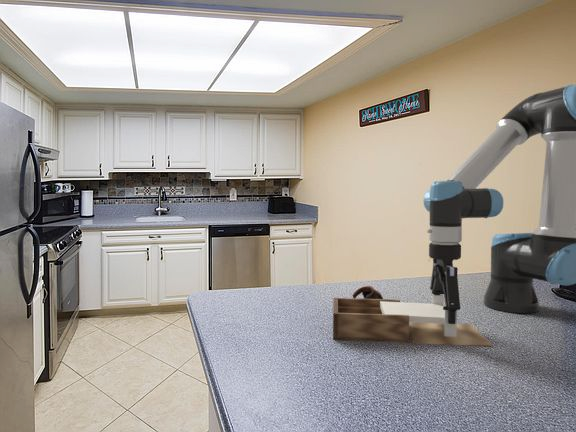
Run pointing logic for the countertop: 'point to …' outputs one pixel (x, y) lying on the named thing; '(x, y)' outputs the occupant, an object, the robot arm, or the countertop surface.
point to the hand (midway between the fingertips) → (443, 327)
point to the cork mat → (435, 335)
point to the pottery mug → (367, 293)
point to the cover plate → (415, 311)
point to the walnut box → (367, 321)
